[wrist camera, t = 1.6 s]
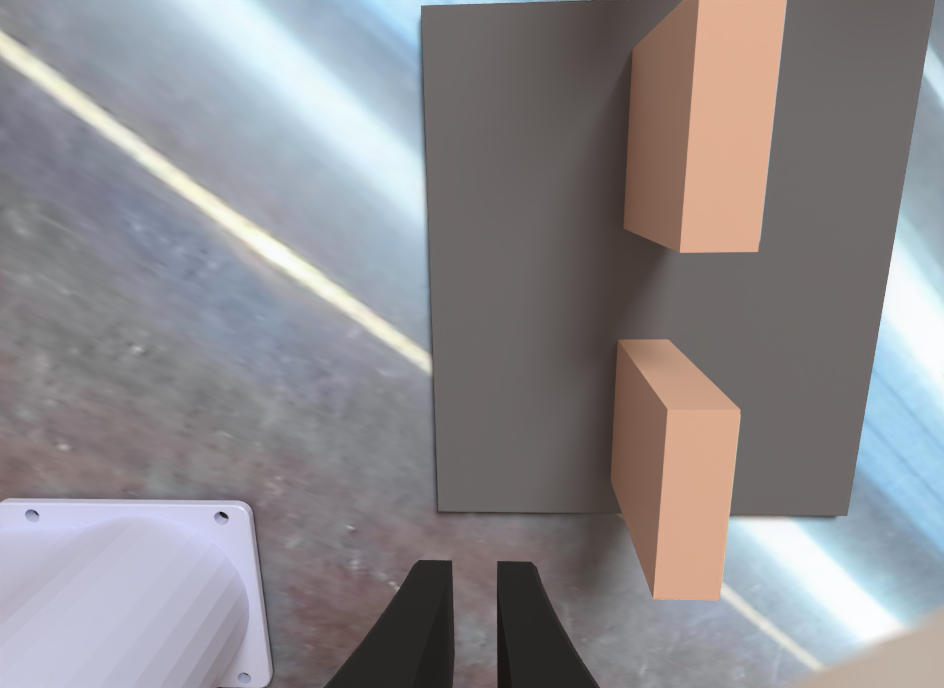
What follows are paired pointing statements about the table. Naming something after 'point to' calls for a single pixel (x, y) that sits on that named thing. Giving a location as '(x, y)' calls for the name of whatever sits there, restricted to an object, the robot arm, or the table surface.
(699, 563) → the tile
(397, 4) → the table surface
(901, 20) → the mat
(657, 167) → the tile
